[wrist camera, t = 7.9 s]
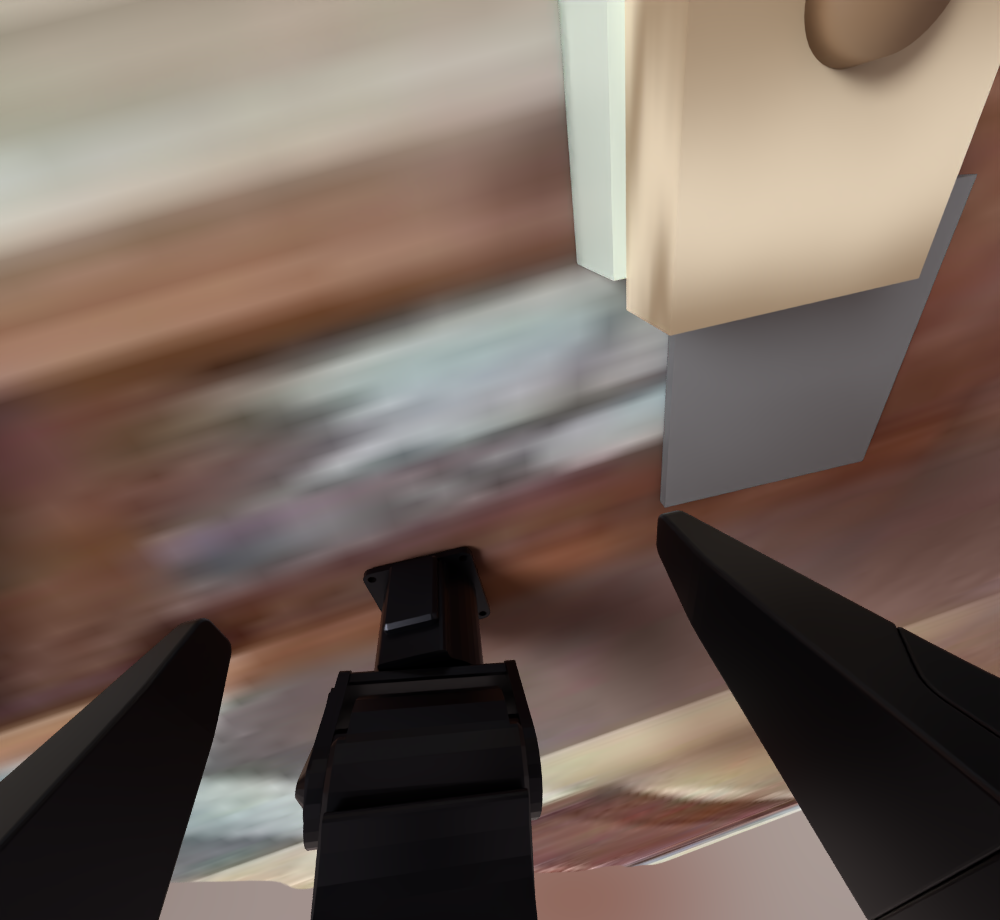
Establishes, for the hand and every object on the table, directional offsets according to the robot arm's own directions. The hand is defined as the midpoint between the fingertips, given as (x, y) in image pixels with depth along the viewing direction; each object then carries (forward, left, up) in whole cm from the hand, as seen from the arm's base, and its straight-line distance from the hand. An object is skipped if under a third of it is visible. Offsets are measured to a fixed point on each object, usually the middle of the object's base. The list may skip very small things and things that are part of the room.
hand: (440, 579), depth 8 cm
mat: (-4, -17, -12) cm, 21 cm away
